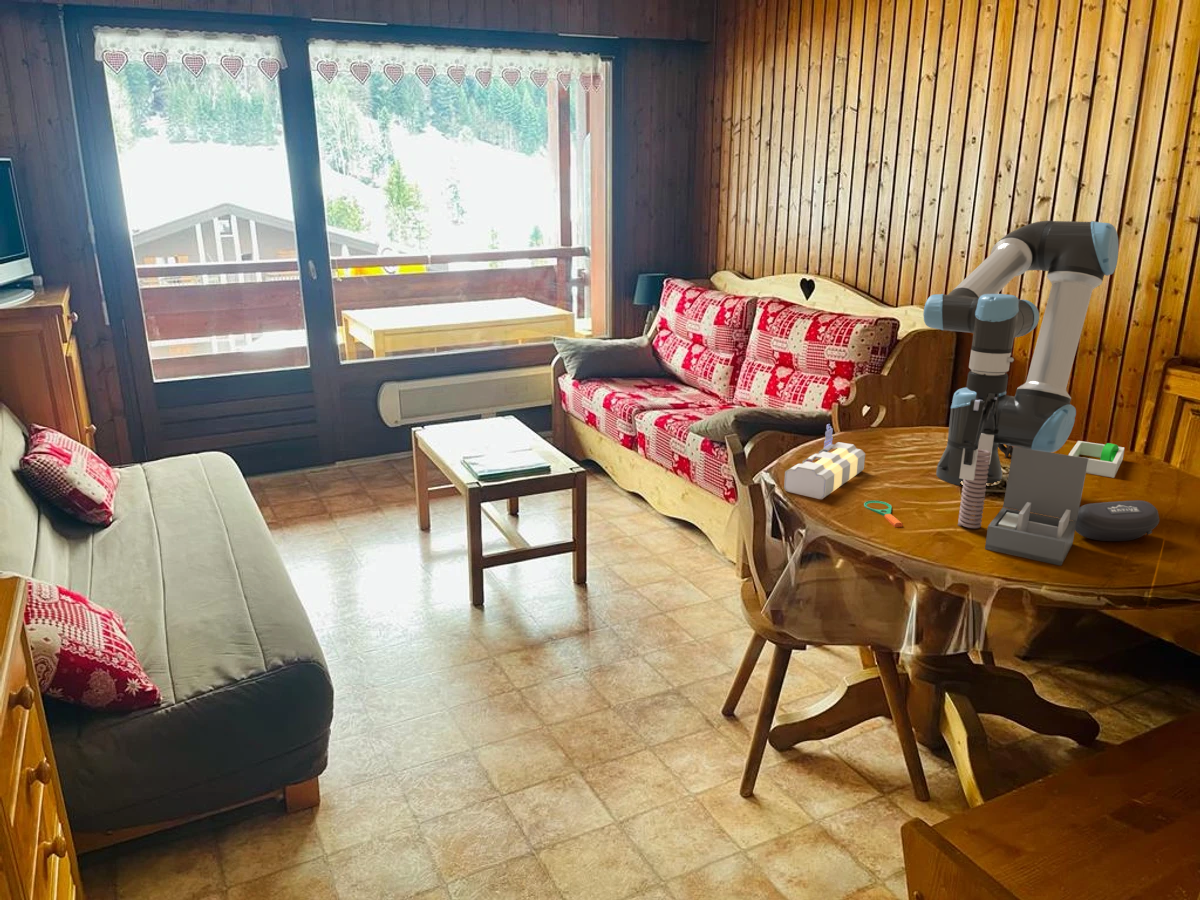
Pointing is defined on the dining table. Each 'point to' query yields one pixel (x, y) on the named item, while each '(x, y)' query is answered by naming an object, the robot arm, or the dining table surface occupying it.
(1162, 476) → the dining table surface
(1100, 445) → the parts corral
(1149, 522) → the glasses case
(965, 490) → the coil
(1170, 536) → the dining table surface
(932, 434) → the dining table surface
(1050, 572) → the dining table surface
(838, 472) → the white striped block
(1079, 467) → the case
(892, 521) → the magnifying glass
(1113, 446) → the mechanical part
